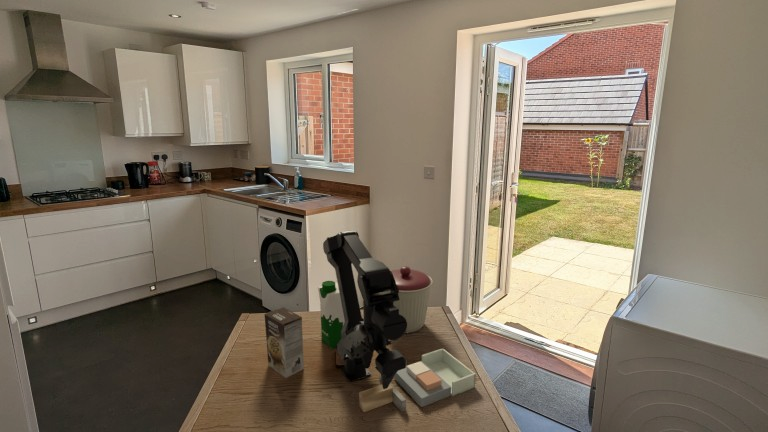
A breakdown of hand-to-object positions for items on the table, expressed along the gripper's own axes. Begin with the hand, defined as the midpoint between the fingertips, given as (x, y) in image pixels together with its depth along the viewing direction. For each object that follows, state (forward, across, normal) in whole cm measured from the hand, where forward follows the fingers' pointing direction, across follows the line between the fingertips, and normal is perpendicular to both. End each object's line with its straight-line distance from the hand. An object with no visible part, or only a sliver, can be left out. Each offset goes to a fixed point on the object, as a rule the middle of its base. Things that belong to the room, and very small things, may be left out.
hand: (375, 377), depth 100 cm
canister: (+8, -30, +27) cm, 41 cm away
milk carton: (+8, -32, +3) cm, 33 cm away
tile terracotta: (+5, +3, +14) cm, 15 cm away
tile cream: (+5, -2, +14) cm, 15 cm away
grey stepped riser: (+7, 0, +14) cm, 15 cm away
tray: (+7, 0, +22) cm, 23 cm away
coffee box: (+8, -26, -15) cm, 31 cm away
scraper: (+7, 0, 0) cm, 7 cm away
